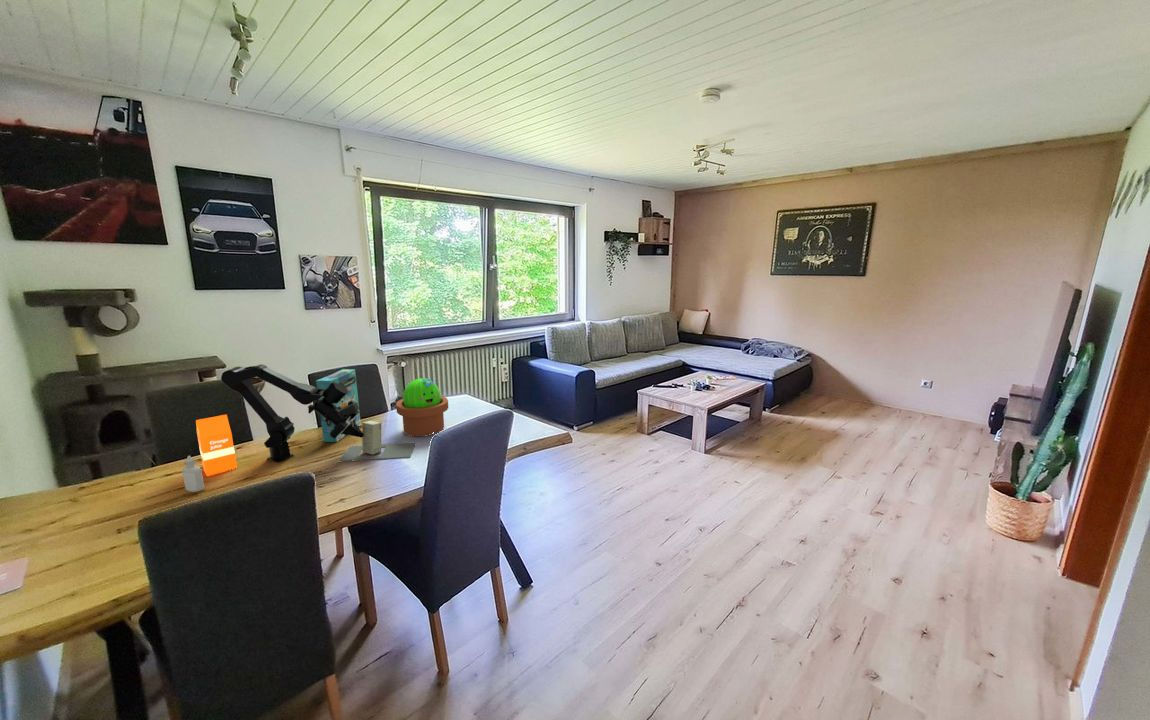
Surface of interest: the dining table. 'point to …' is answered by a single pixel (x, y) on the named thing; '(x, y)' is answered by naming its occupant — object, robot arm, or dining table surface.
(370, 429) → the skincare box
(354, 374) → the game box
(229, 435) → the orange juice
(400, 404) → the potted cactus
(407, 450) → the flat grey rectangular plate
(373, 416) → the dining table surface
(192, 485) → the eye dropper bottle
